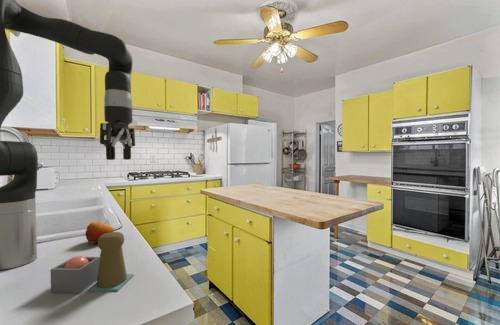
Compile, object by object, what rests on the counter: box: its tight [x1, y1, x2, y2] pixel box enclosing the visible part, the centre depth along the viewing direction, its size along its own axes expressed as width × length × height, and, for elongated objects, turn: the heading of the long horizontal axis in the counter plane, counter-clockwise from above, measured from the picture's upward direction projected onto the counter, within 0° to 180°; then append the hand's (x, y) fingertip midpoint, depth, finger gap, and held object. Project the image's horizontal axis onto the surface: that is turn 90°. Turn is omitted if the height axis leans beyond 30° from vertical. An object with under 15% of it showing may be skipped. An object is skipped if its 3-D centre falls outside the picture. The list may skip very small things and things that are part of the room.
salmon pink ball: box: [64, 255, 89, 268], centre depth 53 cm, size 5×5×5 cm
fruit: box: [85, 221, 115, 247], centre depth 79 cm, size 8×8×8 cm
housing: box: [50, 256, 100, 294], centre depth 53 cm, size 6×6×5 cm
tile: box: [87, 273, 135, 292], centre depth 54 cm, size 6×6×1 cm
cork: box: [96, 231, 127, 288], centre depth 54 cm, size 6×6×11 cm
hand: (119, 159), depth 73 cm, fingers open, 8 cm apart
